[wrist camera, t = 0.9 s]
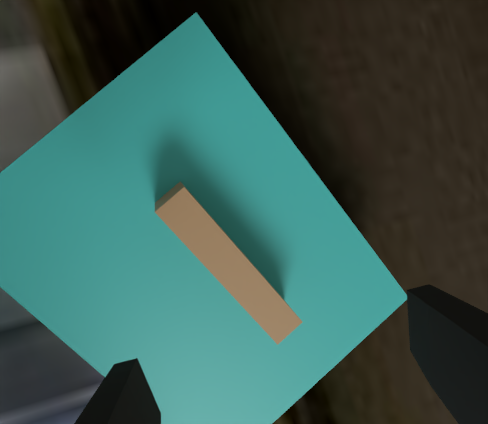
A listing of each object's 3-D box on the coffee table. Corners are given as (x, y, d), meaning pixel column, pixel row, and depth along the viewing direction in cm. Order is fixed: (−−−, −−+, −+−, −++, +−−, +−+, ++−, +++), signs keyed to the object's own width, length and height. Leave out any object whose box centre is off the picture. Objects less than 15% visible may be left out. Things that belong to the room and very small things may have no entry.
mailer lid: (215, 465, 21) (225, 518, 18) (-60, 225, 16) (-109, 243, 13) (401, 293, 22) (441, 317, 19) (194, 16, 17) (203, -12, 14)
